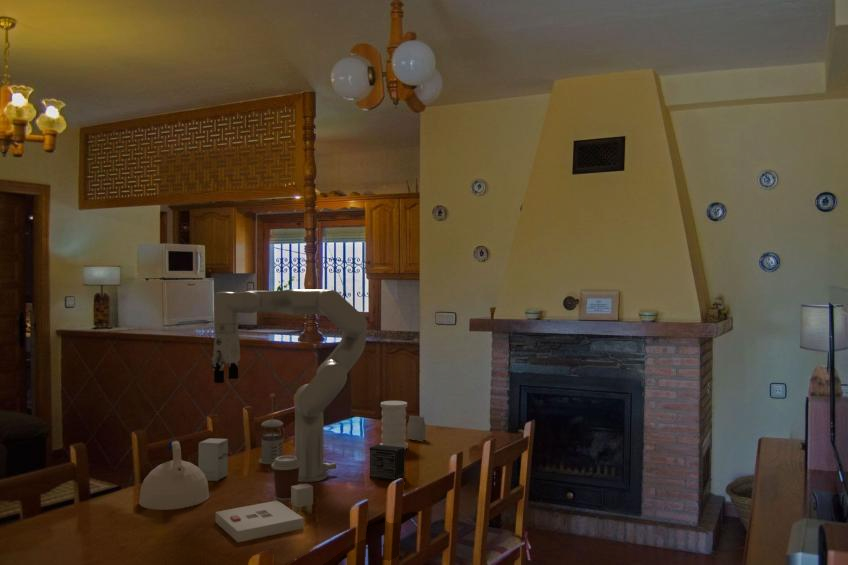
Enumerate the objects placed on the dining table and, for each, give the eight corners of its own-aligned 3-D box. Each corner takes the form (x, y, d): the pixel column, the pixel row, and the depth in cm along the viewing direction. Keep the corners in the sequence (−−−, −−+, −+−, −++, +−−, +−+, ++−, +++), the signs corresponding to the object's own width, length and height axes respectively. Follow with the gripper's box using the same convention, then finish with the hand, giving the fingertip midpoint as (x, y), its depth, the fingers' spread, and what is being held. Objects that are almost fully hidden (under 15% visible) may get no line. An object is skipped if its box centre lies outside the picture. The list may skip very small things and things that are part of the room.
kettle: (142, 515, 194) (142, 451, 194) (135, 495, 212) (136, 437, 212) (215, 504, 203) (215, 444, 203) (203, 486, 221) (203, 430, 222)
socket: (277, 510, 198) (277, 498, 198) (303, 528, 183) (303, 515, 183) (215, 522, 188) (215, 509, 188) (237, 542, 173) (237, 529, 173)
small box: (405, 477, 232) (405, 446, 232) (396, 482, 226) (396, 450, 227) (378, 473, 237) (378, 443, 237) (369, 478, 231) (369, 447, 231)
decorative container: (413, 446, 277) (413, 402, 277) (397, 452, 267) (397, 406, 268) (390, 442, 283) (390, 399, 284) (373, 448, 274) (373, 403, 274)
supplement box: (217, 481, 227) (217, 443, 227) (197, 480, 228) (197, 442, 228) (228, 475, 234) (228, 438, 234) (208, 474, 236) (208, 437, 236)
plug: (306, 508, 199) (306, 483, 199) (313, 513, 195) (313, 487, 195) (289, 512, 196) (289, 486, 196) (296, 516, 192) (296, 490, 192)
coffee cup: (286, 503, 204) (287, 463, 204) (264, 498, 208) (265, 459, 209) (307, 495, 211) (307, 457, 211) (285, 491, 216) (285, 453, 216)
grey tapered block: (421, 441, 286) (421, 418, 286) (407, 440, 289) (407, 416, 289) (425, 440, 289) (425, 416, 289) (411, 438, 292) (411, 415, 292)
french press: (253, 462, 251) (253, 394, 252) (271, 455, 262) (271, 390, 262) (275, 465, 248) (275, 396, 248) (293, 457, 258) (293, 391, 259)
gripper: (223, 330, 216) (224, 384, 216) (248, 327, 233) (248, 377, 233) (202, 330, 218) (202, 384, 218) (228, 327, 235) (228, 377, 235)
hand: (226, 380), depth 226 cm, fingers open, 9 cm apart
